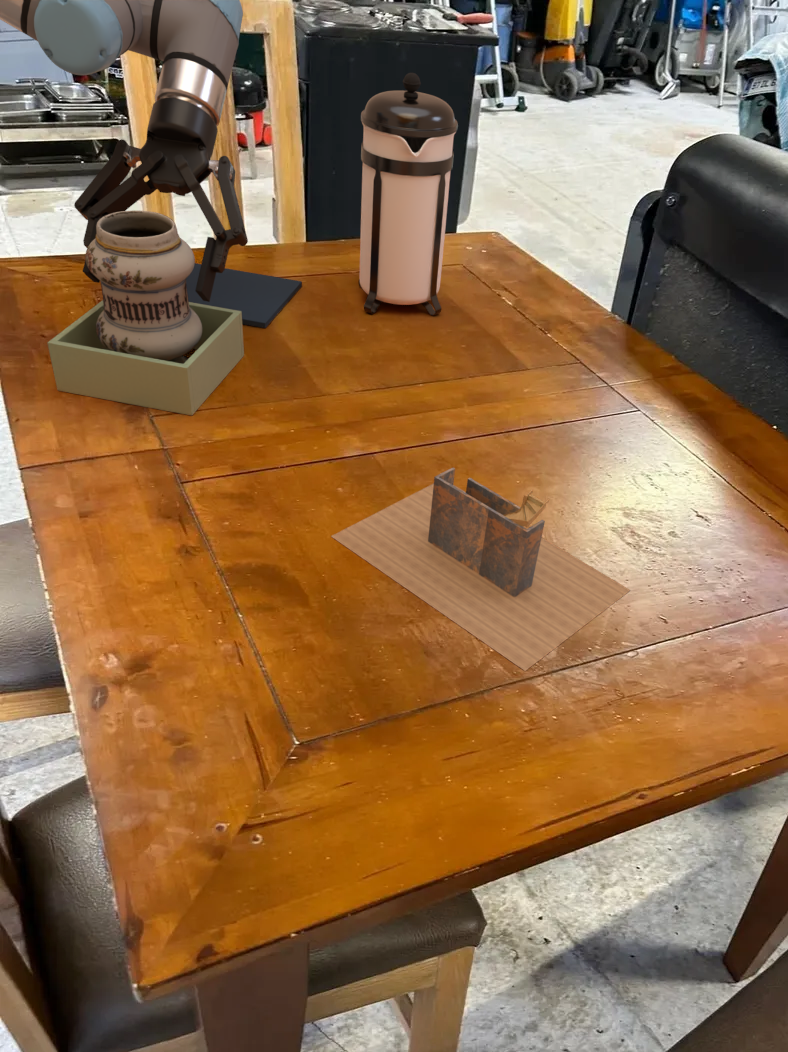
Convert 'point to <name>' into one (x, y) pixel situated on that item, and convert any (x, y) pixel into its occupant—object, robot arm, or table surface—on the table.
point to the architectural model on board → (484, 566)
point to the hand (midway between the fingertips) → (146, 287)
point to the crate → (148, 364)
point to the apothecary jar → (144, 286)
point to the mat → (246, 294)
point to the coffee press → (404, 196)
